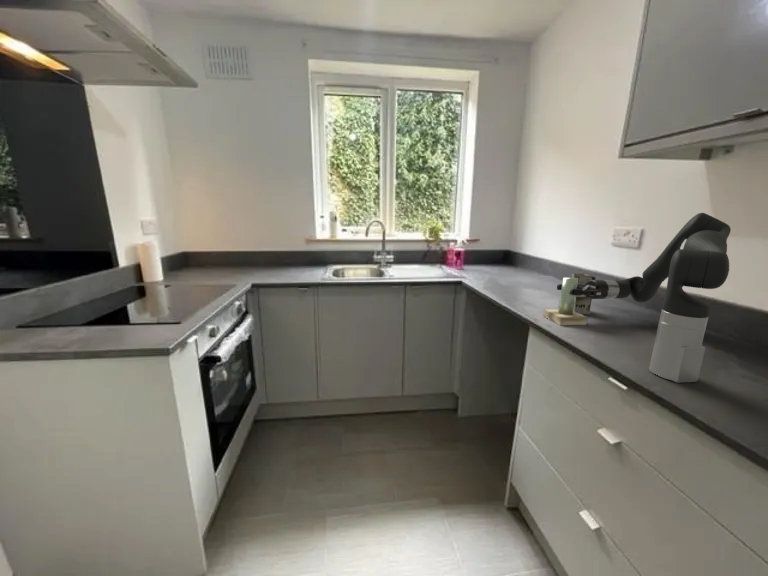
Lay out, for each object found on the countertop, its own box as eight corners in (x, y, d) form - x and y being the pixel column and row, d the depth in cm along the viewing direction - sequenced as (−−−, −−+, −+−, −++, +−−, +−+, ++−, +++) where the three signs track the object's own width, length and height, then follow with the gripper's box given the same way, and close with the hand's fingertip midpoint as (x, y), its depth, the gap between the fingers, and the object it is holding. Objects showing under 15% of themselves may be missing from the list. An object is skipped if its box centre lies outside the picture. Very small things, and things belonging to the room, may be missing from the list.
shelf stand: (586, 324, 133) (587, 317, 132) (559, 325, 131) (561, 317, 131) (567, 315, 144) (568, 308, 143) (543, 316, 142) (544, 309, 141)
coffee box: (589, 314, 146) (596, 277, 143) (573, 313, 147) (579, 276, 144) (582, 309, 155) (588, 273, 151) (566, 307, 156) (572, 272, 153)
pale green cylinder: (575, 314, 135) (581, 279, 132) (563, 315, 134) (568, 279, 131) (567, 311, 140) (572, 276, 137) (555, 311, 139) (560, 276, 136)
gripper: (590, 276, 143) (554, 276, 140) (618, 284, 129) (578, 284, 127) (587, 294, 144) (551, 294, 142) (614, 303, 131) (575, 303, 128)
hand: (564, 289), depth 134 cm, fingers open, 8 cm apart
